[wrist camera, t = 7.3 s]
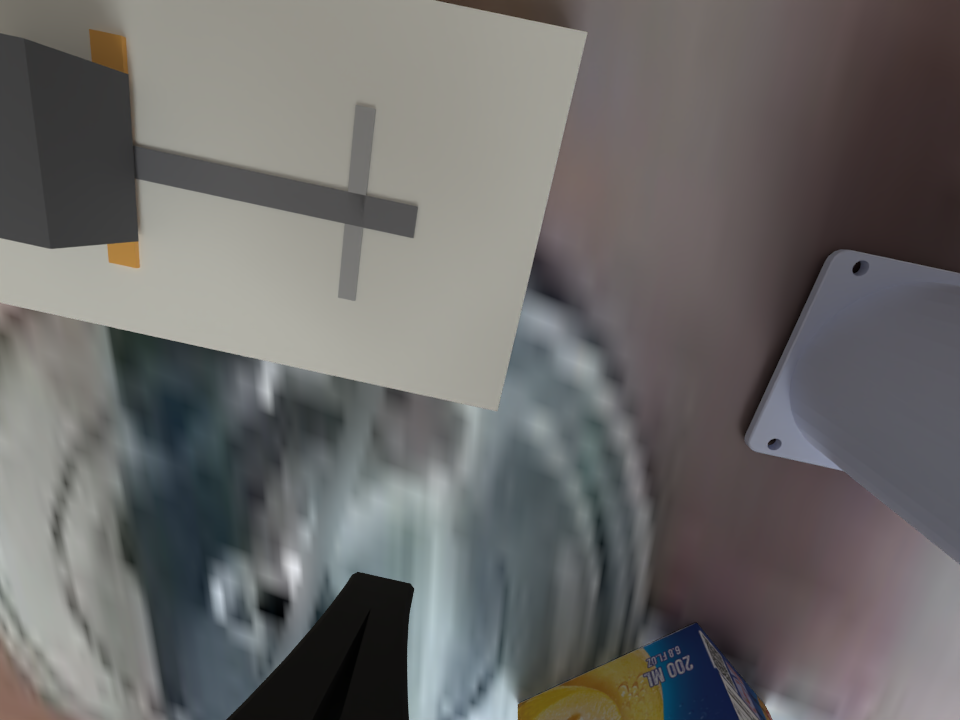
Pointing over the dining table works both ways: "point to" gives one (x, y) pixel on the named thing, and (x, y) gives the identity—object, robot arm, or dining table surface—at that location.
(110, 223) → the block
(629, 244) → the dining table surface
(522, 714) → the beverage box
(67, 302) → the control panel
